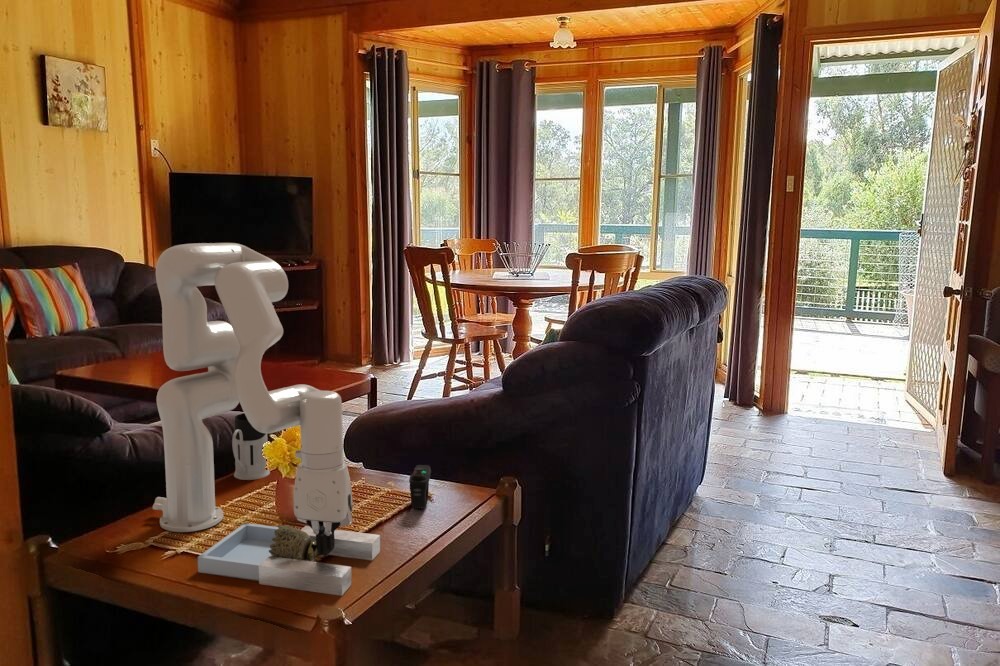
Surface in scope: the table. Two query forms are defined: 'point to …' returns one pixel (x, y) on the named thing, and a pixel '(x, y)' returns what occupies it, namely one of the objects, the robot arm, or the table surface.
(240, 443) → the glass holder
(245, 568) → the tray
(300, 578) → the groove rails
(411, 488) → the controller
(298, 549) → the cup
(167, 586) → the table surface
